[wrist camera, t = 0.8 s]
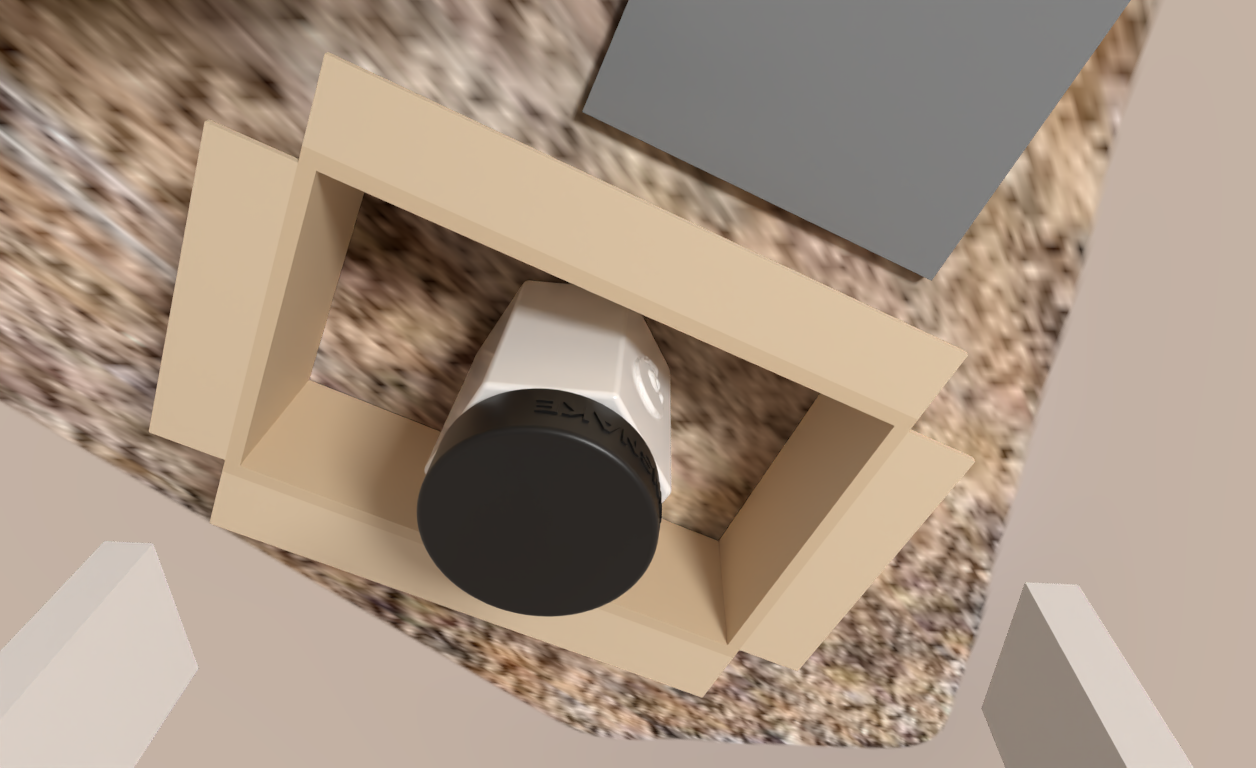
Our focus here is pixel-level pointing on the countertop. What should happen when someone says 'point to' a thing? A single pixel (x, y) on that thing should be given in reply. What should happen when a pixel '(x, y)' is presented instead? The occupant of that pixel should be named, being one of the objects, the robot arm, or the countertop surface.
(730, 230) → the countertop surface
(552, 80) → the countertop surface
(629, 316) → the jar
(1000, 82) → the plate
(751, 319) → the carton
